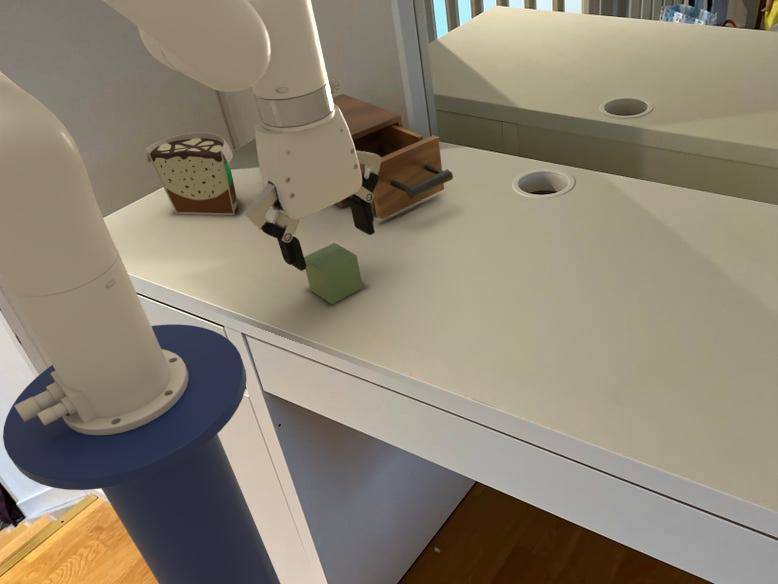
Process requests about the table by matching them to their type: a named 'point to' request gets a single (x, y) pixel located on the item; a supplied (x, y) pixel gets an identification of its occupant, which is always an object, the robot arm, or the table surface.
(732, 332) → the table surface
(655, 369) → the table surface
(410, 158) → the drawer
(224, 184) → the food container
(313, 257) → the block
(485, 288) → the table surface
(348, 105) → the cabinet
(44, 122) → the robot arm
